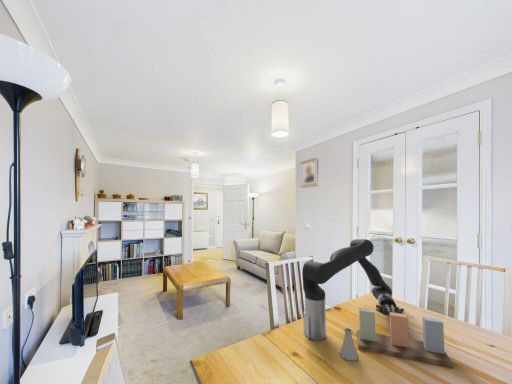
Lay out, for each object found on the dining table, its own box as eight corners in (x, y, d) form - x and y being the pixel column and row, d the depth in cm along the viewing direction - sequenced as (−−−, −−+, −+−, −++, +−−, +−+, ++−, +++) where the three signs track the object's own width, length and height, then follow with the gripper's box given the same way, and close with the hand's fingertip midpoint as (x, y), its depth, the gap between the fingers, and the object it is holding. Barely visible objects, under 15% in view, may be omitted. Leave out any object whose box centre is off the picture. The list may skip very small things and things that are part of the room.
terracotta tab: (391, 344, 97) (390, 315, 98) (390, 340, 100) (389, 312, 101) (408, 347, 95) (407, 317, 96) (406, 343, 98) (405, 314, 99)
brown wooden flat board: (358, 349, 98) (358, 344, 98) (356, 334, 109) (356, 330, 109) (452, 367, 87) (452, 362, 87) (440, 348, 98) (440, 344, 98)
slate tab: (426, 350, 93) (425, 320, 94) (423, 346, 96) (422, 316, 97) (444, 354, 91) (443, 322, 92) (441, 349, 94) (440, 319, 95)
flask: (357, 351, 96) (357, 326, 96) (359, 363, 89) (358, 336, 90) (339, 348, 98) (338, 323, 99) (339, 359, 92) (338, 333, 92)
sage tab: (360, 338, 102) (359, 310, 102) (359, 335, 104) (359, 307, 105) (375, 341, 100) (374, 312, 100) (374, 337, 102) (374, 309, 103)
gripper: (372, 294, 127) (377, 307, 110) (400, 297, 122) (409, 311, 106) (373, 308, 126) (377, 323, 110) (401, 312, 122) (410, 328, 106)
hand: (393, 317), depth 108 cm, fingers closed
